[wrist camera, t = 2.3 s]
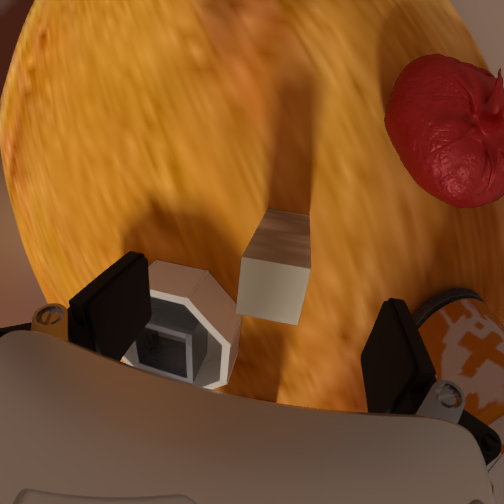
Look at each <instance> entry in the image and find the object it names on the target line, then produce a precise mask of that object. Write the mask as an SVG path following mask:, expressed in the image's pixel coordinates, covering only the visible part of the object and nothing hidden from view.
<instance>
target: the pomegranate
mask: <svg viewBox="0 0 504 504" xmlns="http://www.w3.org/2000/svg"><path fill="white" fill-rule="evenodd" d="M384 121H385V127H386V130H387V132H388V135H389V137H390V140H391V142H392V144H393V146H394V147H395V149H396V151H397V153H398V154H399V156H400V159H401V161H402V162H403V164H404V166H405V168H406V169H407V170H408V172H409V173H410V175H411V176H412V178H413V179H414V180H415V182H416V183H417V184H418V185H419V186H420V187H421V188H423V189H424V190H425V191H426V192H428V193H429V194H431V195H432V196H434V197H436V198H438V199H440V200H442V201H444V202H446V203H448V204H450V205H453V206H456V207H458V208H474V207H478V206H482V205H484V204H487V203H490V202H494V201H496V200H498V199H499V198H501V197H502V196H503V195H504V88H503V78H502V77H501V69H499V72H498V78H497V79H496V78H495V77H494V76H493V75H492V74H491V73H490V72H489V71H487V70H485V69H482V68H479V67H476V66H474V65H472V64H469V63H464V62H460V61H459V60H457V59H455V58H452V57H445V56H443V55H441V54H432V55H426V56H423V57H419V58H418V59H416V60H414V61H412V62H411V63H409V64H408V65H407V66H406V67H405V69H404V70H403V71H402V73H401V74H400V76H399V77H398V79H397V81H396V83H395V86H394V88H393V91H392V93H391V97H390V101H389V104H388V107H387V110H386V113H385V118H384Z"/></svg>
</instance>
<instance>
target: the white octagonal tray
mask: <svg viewBox="0 0 504 504" xmlns="http://www.w3.org/2000/svg"><path fill="white" fill-rule="evenodd" d="M148 270H149V285H150V296H152V297H155V298H159V299H163V300H167V301H171V302H175V303H179V304H183V305H185V306H186V307H187V308H188V309H189V310H190V312H191V313H192V314H193V315H194V316H195V317H196V318H197V319H198V320H199V321H200V322H201V324H202V325H203V326H204V327H205V328H206V329H207V330H208V344H207V354H206V356H205V359H204V361H203V363H202V365H201V367H200V369H199V372H198V374H197V376H196V378H195V380H194V382H193V383H189V382H186V381H182V380H179V379H176V378H172V377H169V376H166V375H163V374H160V373H157V372H154V371H151V370H148V369H145V368H142V367H139V366H137V365H135V361H134V356H133V351H132V346H130V348H129V349H128V351H127V352H126V353H125V355H124V356H123V357H122V359H123V360H124V361H125V362H126V363H127V364H128V365H131V366H134V367H137V368H140V369H143V370H146V371H149V372H152V373H155V374H158V375H161V376H164V377H168V378H171V379H174V380H178V381H181V382H185V383H188V384H192V385H196V386H199V387H203V388H207V389H211V390H212V389H215V388H218V387H220V386H223V385H227V384H228V382H229V379H230V376H231V373H232V370H233V367H234V364H235V361H236V358H237V355H238V352H239V349H238V347H239V339H240V331H241V323H242V316H243V315H240V314H236V305H237V304H236V303H235V302H234V301H233V300H232V298H231V297H230V296H229V295H228V294H227V293H226V291H225V290H224V289H223V288H222V287H221V286H220V284H219V283H218V282H217V281H216V280H215V278H214V277H213V276H212V275H211V274H210V273H209V271H208V270H203V269H198V268H193V267H188V266H183V265H178V264H174V263H169V262H164V261H159V259H158V260H156V261H154V262H153V263H152V264H151V265H150V266H149V267H148ZM158 336H161V337H165V338H168V339H172V340H175V341H179V342H183V343H186V339H185V338H181V337H177V336H174V335H170V334H167V333H163V332H160V331H158Z"/></svg>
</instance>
